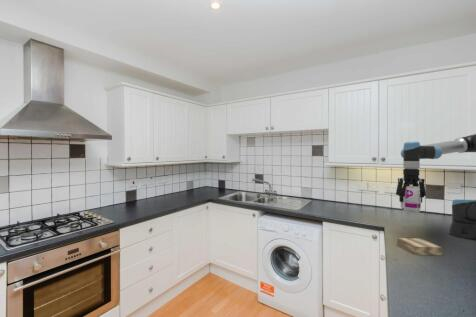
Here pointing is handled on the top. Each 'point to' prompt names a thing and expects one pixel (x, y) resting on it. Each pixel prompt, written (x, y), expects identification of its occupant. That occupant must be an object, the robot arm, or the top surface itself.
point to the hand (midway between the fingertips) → (410, 207)
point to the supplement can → (412, 199)
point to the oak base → (419, 246)
